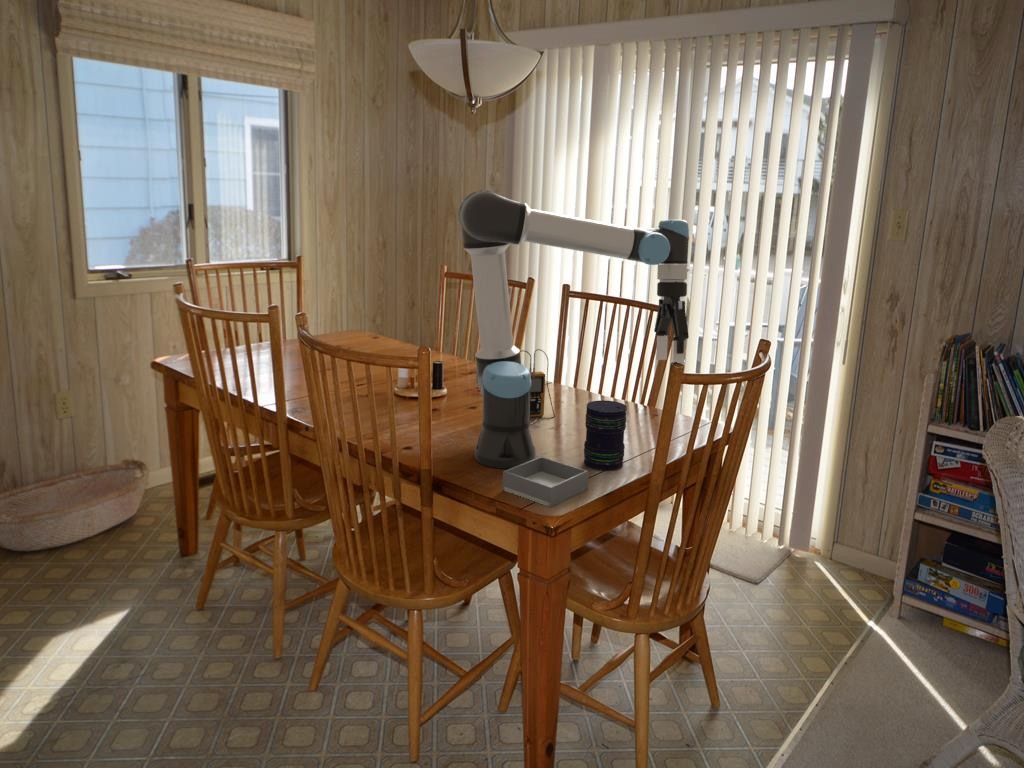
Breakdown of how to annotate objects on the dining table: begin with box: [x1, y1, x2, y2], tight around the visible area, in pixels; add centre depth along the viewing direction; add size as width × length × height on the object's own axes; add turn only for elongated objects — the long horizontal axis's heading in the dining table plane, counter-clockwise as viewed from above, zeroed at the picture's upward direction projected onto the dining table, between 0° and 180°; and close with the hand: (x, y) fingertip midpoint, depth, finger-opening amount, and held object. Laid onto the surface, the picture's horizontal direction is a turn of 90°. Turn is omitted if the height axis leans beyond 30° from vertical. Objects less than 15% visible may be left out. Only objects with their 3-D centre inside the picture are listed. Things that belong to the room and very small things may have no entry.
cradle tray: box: [502, 456, 589, 508], centre depth 175 cm, size 14×14×4 cm
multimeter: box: [520, 348, 556, 425], centre depth 224 cm, size 15×10×20 cm
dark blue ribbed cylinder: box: [583, 400, 628, 472], centre depth 191 cm, size 10×10×15 cm
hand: (669, 363), depth 205 cm, fingers open, 13 cm apart
